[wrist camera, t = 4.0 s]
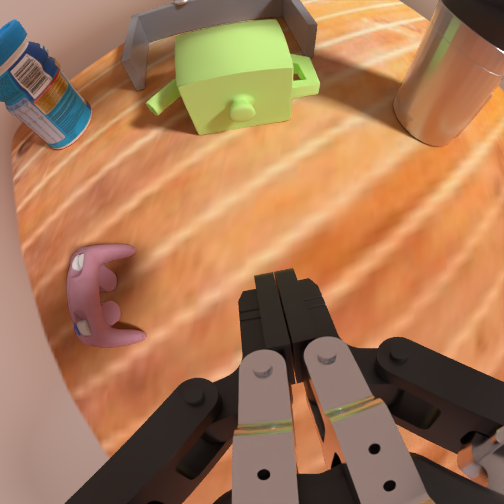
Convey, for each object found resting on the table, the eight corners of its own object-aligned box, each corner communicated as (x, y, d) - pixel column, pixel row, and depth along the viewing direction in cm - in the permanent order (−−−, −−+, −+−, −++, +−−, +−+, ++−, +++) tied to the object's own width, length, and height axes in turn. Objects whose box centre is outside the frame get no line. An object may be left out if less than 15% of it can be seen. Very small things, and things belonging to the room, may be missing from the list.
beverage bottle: (47, 161, 31) (-44, 84, 12) (51, 120, 33) (-20, 44, 14) (94, 134, 32) (9, 33, 12) (95, 95, 33) (30, 3, 14)
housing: (286, 11, 35) (286, -19, 29) (313, 57, 32) (317, 20, 26) (142, 39, 36) (130, 11, 29) (136, 91, 33) (119, 59, 26)
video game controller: (115, 254, 29) (59, 247, 23) (139, 242, 27) (79, 231, 21) (125, 345, 27) (68, 351, 21) (152, 342, 25) (89, 351, 19)
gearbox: (160, 158, 30) (124, 112, 21) (161, 96, 32) (134, 46, 23) (320, 131, 30) (333, 74, 20) (299, 71, 31) (303, 15, 22)
